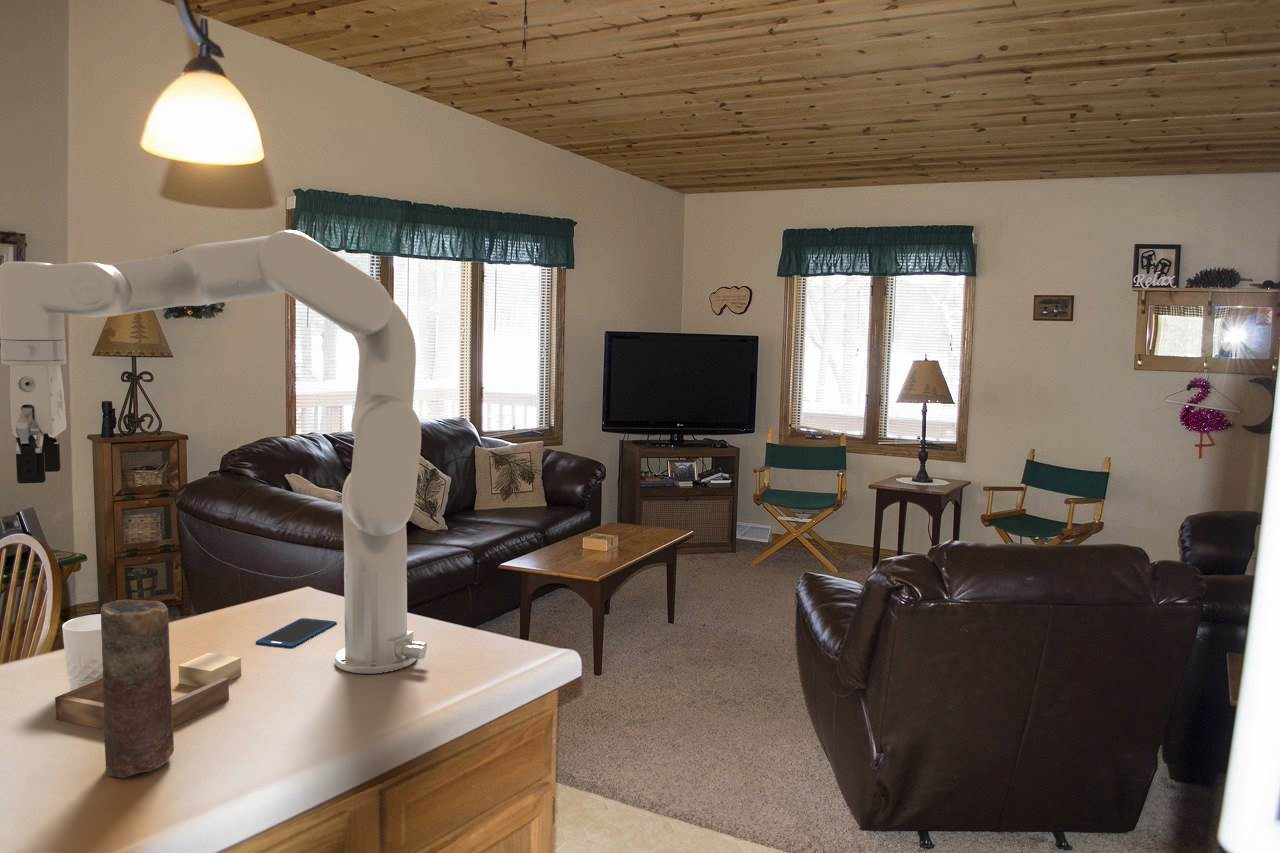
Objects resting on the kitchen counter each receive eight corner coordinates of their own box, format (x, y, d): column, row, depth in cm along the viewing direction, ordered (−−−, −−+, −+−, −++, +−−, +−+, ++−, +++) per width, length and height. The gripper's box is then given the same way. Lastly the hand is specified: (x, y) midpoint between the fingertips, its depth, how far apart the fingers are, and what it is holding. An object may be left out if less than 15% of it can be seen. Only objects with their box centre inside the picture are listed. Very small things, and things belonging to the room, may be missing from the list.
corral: (229, 699, 137) (228, 678, 136) (149, 738, 124) (148, 716, 123) (141, 682, 142) (141, 663, 142) (56, 719, 129) (55, 697, 128)
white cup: (100, 702, 135) (97, 632, 134) (51, 696, 136) (48, 628, 135) (140, 681, 142) (137, 616, 141) (93, 676, 144) (91, 611, 143)
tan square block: (241, 676, 146) (240, 657, 146) (211, 691, 140) (211, 671, 140) (209, 671, 148) (209, 652, 147) (179, 685, 142) (178, 665, 142)
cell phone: (253, 646, 159) (253, 641, 159) (302, 621, 173) (302, 617, 173) (292, 650, 158) (292, 646, 158) (338, 625, 171) (338, 621, 171)
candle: (123, 751, 120) (117, 594, 118) (184, 750, 120) (179, 594, 118) (93, 781, 112) (86, 613, 110) (159, 780, 113) (153, 613, 111)
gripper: (52, 356, 125) (58, 486, 127) (77, 351, 141) (82, 466, 143) (-16, 355, 122) (-9, 488, 124) (17, 350, 139) (23, 468, 140)
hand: (39, 476), depth 134 cm, fingers open, 9 cm apart
